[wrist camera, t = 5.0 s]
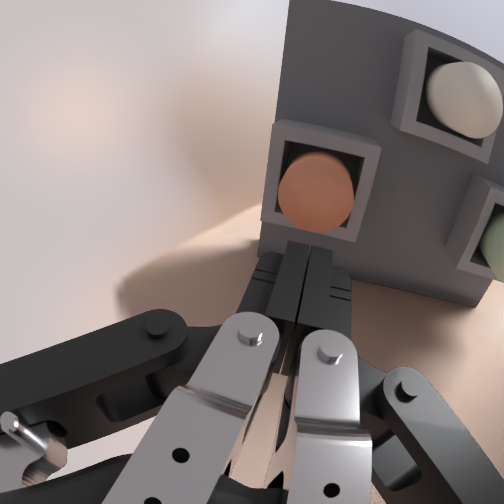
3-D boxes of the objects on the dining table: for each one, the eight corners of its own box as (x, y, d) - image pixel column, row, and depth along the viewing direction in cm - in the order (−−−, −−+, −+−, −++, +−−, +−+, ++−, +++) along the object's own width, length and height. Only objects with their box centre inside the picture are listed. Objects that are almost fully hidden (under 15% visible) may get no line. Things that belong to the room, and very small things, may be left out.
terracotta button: (343, 239, 16) (361, 171, 13) (273, 223, 16) (283, 153, 14) (343, 219, 18) (358, 159, 15) (281, 205, 18) (290, 144, 16)
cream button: (494, 149, 10) (507, 81, 8) (432, 122, 11) (445, 49, 9) (475, 139, 12) (487, 79, 10) (419, 116, 13) (429, 53, 11)
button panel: (485, 329, 18) (576, 106, 7) (247, 278, 22) (282, -19, 10) (467, 287, 23) (535, 95, 12) (265, 238, 26) (296, 6, 15)
